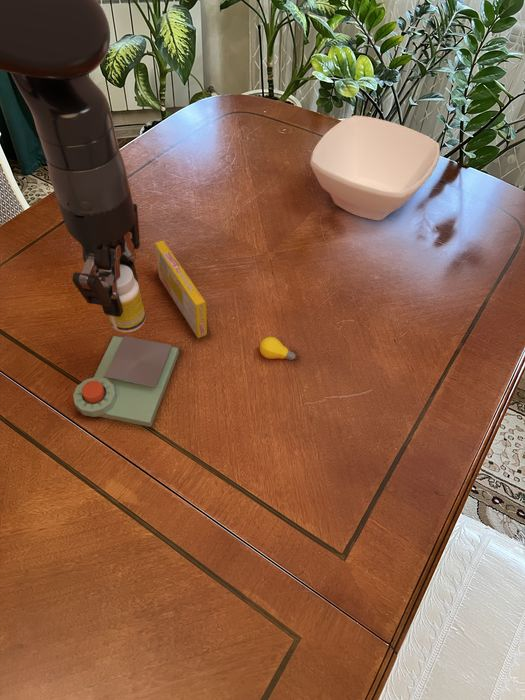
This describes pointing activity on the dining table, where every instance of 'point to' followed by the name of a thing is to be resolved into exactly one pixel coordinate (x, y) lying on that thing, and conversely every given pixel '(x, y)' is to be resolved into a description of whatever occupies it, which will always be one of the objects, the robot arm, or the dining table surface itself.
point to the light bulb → (275, 349)
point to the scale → (125, 392)
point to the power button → (93, 392)
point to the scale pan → (139, 361)
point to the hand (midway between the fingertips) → (121, 297)
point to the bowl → (373, 165)
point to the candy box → (181, 289)
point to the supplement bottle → (128, 302)
